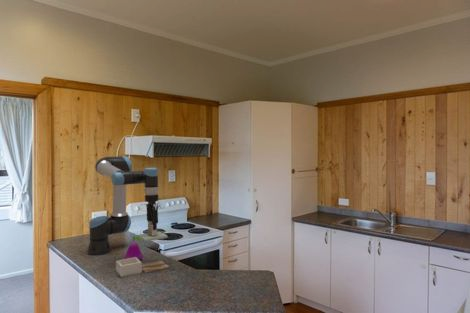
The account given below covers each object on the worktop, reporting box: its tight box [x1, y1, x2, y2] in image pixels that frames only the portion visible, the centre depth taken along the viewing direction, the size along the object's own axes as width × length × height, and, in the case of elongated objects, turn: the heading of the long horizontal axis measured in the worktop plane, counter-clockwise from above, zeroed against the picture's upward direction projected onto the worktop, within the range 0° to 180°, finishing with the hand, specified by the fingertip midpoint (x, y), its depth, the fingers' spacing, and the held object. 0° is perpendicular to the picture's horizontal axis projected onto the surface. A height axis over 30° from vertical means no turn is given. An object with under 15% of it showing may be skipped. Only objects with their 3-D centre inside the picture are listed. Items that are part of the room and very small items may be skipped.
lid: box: [137, 221, 168, 242], centre depth 185 cm, size 13×13×9 cm
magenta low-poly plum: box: [123, 236, 143, 261], centre depth 198 cm, size 11×11×15 cm
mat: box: [141, 259, 170, 274], centre depth 185 cm, size 14×14×1 cm
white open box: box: [115, 257, 143, 278], centre depth 177 cm, size 11×11×6 cm
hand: (152, 234), depth 185 cm, fingers closed on lid, 5 cm apart
